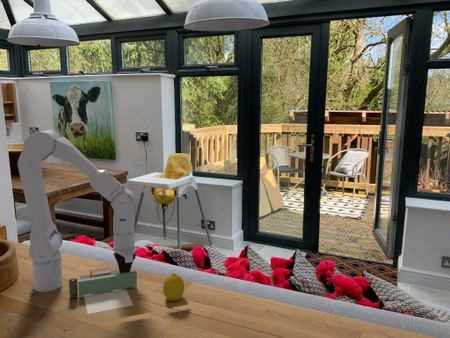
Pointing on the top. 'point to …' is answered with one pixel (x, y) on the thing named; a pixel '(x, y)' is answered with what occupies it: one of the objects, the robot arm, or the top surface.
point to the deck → (106, 299)
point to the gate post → (73, 289)
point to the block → (99, 271)
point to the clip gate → (107, 283)
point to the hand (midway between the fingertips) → (124, 277)
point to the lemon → (173, 287)
